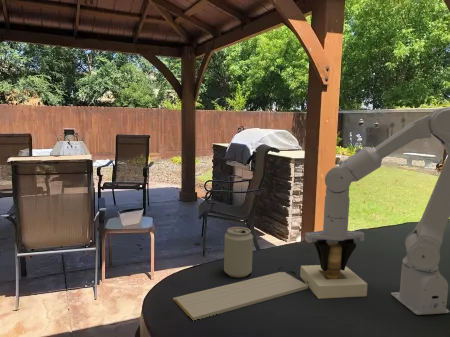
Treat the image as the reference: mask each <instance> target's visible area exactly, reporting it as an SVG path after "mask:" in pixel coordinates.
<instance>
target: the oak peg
mask: <svg viewBox="0 0 450 337" xmlns="http://www.w3.org/2000/svg"><path fill="white" fill-rule="evenodd" d="M327 243H328V246H330V247H331V248H330V251H329V255H328V265H327V271H324V273H325V278H326V279H327V280H328V279H339V275H340V274H341V258H342V245H340V244H338V242H327Z"/></svg>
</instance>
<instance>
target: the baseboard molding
mask: <svg viewBox="0 0 450 337" xmlns="http://www.w3.org/2000/svg"><path fill="white" fill-rule="evenodd" d="M281 269H283V270H285V269H284V267H283V266H281V267H279V268H277V270H278V271H277V272H275V273H270V274H265V275H262V276H258V277H254V278H250V279H245V280H241V281H237V282H233V283H229V284H225V285H221V286H216V287H213V288H209V289H205V290H200V291H195V292H192V293H187V294H183V295H180V296H176V297H175V296H174V297H173V298H172V299H173V301H174V302H175V304H177V305H178V307H179V308H181V310H182V311H183V312H184V313H185V314H186V316H187V317H188V316H189V317H190V318H191V319H192V320H193V321H192V320H191V319H190V318H189V317H188V318H189V319H190V320H191V321H192V322H195V321H194V320H196V321H198V320H197V319H200V320H203V319H206V317H207V318H209V316H210V317H213V315H214V316H217V315H221V314H224V313H228V312H231V311H234V310H238V309H241V308H244V307H248V306H252V305H255V304H259V303H264V302H266V301H270V300H273V299H276V298H280V297H284V296H288V295H290V294H295V293H297V292H298V293H299V292H301V291H304V290H307V289H309V287H308V285H307V284H306V283H305V282H304V281H305V280H304V281H301V280H300V279H301V277H300V276H298V275H297V273H295V271H293V270H290V271H289V270H287V271H283V272H282V271H281ZM287 272H289V273H290V274H288V273H287ZM291 274H294V276H296V277H298V279H297V278H296V277H294V276H293V275H291ZM306 282H307V281H306ZM307 283H308V282H307ZM216 314H217V315H216ZM202 318H203V319H202Z"/></svg>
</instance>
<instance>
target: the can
mask: <svg viewBox="0 0 450 337" xmlns="http://www.w3.org/2000/svg"><path fill="white" fill-rule="evenodd" d="M226 231H227V232H226V233H225V234H224V248H223V249H224V253H223V257H224V258H223V271H224V273H225V274H227V275H228V276H229V277H232V278H238V279H239V278H240V279H241V278H246V277H247V276H249V274H251V273H252V271H253V253H254V252H253V250H254V249H253V248H254V247H253V245H254V235H253V234H252V233H251V232H252V230H251V229H249V228H248V227H243V226H233V227H229V228H228V229H227V230H226Z"/></svg>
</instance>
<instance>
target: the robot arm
mask: <svg viewBox="0 0 450 337" xmlns="http://www.w3.org/2000/svg"><path fill="white" fill-rule="evenodd" d="M432 136H433V137H434V138H436V140H439V142H440V143H441V146H442V147H443V149H444V150H445V152H446V154H447V157H446V159H445V162H444V165H443V167H442V169H441V171H440V173H439V175H438V178H437V180H436V183H435V185H434V187H433V190H432V192H431V195H430V196H429V200H428V202H427V204H426V207H425V209H424V211H423V214H422V215H421V218H420V220H419V221H418V223H416V225H415V228H414V229H413V230H412V232H410V233H409V234H408V235H407V236H406V237H405V241H404V247H405V249H406V255H405V257H403V259H402V262H401V263H402V264H401V273H400V275H401V276H400V286H399V287H400V288H399V291H394V292H391V293H390V295H391V296H392V297H394V298H395V299H396V300H397V301H398V302H399V303H401V304H402V305H404V306H405V307H406V308H408V310H410V311H411V312H412V313H413V314H415V315H419V316H420V315H436V314H449V313H450V310H449V309H448V308H447V303H448V294H449V283H448V281H447V279H446V278H445V277H444V276H443V275H442V274H441V273H440V271H439V270H440V269H439V263H440V261H441V253H440V252H441V251H440V250H441V249H440V248H441V246H442V244H443V238H444V231H445V229H446V227H447V224H448V221H449V219H450V106H445V107H443V108H439V109H436V110H434V111H432V112H431V113H430V114H427V115H424V116H422V117H421V118H418V119H416V120H414V121H412V122H410V123H408V124H407V125H406V126H404V127H403V128H401V129H400V130H399V131H397V132H395V133H394V134H393V135H391V136H390V137H388V138H386V139H385V140H384V141H382V142H380V143H379V144H378V145H376V146H375V147H370V146H364V147H363V148H361V147H358V148H357V149H355V151H354V154H352V155H350V156H349V157H348V158H346V159H345V160H340V161H338V162H337V164H338V165H337V166H333V167H332V168H330V170H329V171H327V173H326V174H325V175H324V176H325V178H324V184H325V186H326V188H325V196H324V208H323V224H322V227H323V228H322V230H317V231H311V232H305V234H304V240H305V242H306V243H308V244H309V243H312V242H313V244H314V248H315V250H316V252H317V255H318V258H319V265H321V269H322V270H323V271H327V265H328V255H329V251H330V248H331V247H330V246H328V243H329V242H337V243H338V244H340V245H342V258H341V270H345V267H347V264H348V261H349V259H350V257H351V256H352V253H353V252H354V250H355V249H356V248H357V243H355V241H359V242H364V241H365V233H364V232H363V231H360V230H359V231H356V230H348V229H349V228H348V227H349V213H350V186H351V184H352V183H354V182H355V183H356V182H359V181H360V180H362V179H364V178H365V177H366V176H368V175H369V174H371V173H373V172H375V171H376V170H378V169H380V168H381V166H382V162H383V159H384V158H386V157H388V156H390V155H391V154H393V153H395V152H397V151H398V150H399V149H401V148H403V147H404V146H406V145H409V144H410V143H412V142H413V141H415V140H422V139H432V138H433V137H432Z"/></svg>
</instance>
